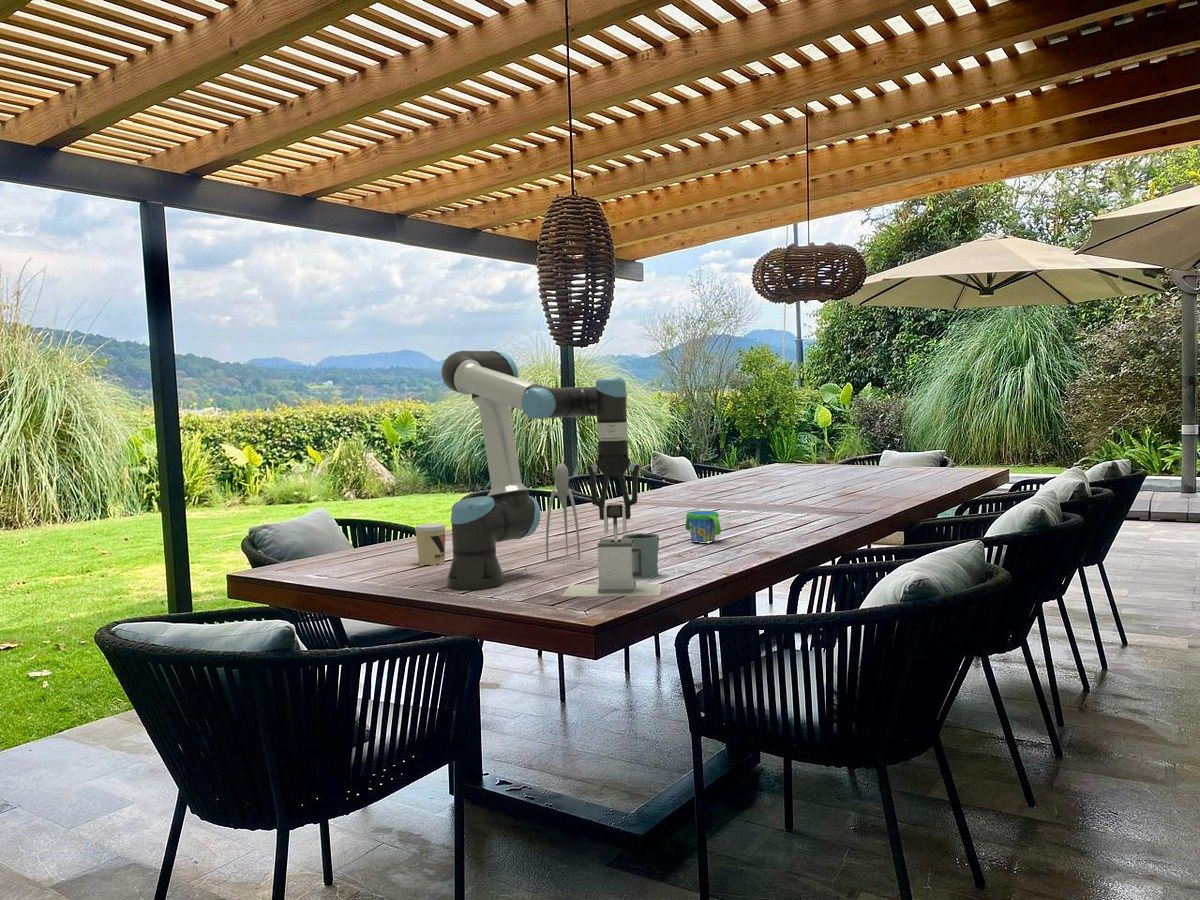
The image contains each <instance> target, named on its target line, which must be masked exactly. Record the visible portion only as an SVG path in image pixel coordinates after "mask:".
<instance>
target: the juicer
mask: <svg viewBox="0 0 1200 900" xmlns="http://www.w3.org/2000/svg"><path fill="white" fill-rule="evenodd" d="M568 469H569V468H568V467H567V466H566V464H564V463H563V462H561V463H559V464H558V465H557V466H556V467H555V470H554V479H555V482H554V483H555V487H556V488H555V489H556V490H555V489H552V490H551V494H550V498H549V503H548V508H547V517H546V529H545V531H546V533H545V549H546V551H545V552H546V553H545V554H546V556H545V557H546V562H549V533H550V520H551V513H552V506H553V504H554V503H553V502H554V499H555V496H557V497H558V500H559V503H560V505H561V507H562V509H563V519H564V520H563V521H564V533H565V534H564V535H565V549H566V551H565V552H566V556H567V555H568V553H569V552H568V548H569V547H568V509H567V508H568V506H567V496H568V497H569V500H570V504H571V507H572V513H573V516H574V517H573V518H574V525H575V533H576V542H577V554H578V556H577V557H578V559H577V560H578V561H579V560H580V561H581V551H580V550H581V549H580V547H581V546H580V531H579V522H578V515H577V508H576V504H575V499H574V496H573V492H572V489H571V488H569V470H568ZM568 556H569V555H568Z"/></svg>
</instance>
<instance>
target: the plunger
mask: <svg viewBox="0 0 1200 900" xmlns="http://www.w3.org/2000/svg"><path fill="white" fill-rule="evenodd" d="M606 506H607V518H608V519H613V520H612V521H613V523H612V525H613V527H612V528H613V539H614V542H618V539H619V537H618V532H619V531H618V519H619V518H621V519H622V507H623V506H624V505H623V504H622V503H621V504H620V503H618V504H617V503H615V504H614V503H613V504H612V503H611V504H606Z"/></svg>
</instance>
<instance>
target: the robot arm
mask: <svg viewBox="0 0 1200 900" xmlns="http://www.w3.org/2000/svg"><path fill="white" fill-rule="evenodd" d="M441 378H442V381H443V383H444V385H445V386H446V387H447V388H448V389H449V390H451V391H453V392H456V393H459V394H461V395H467V396H468V395H471V400H472V402H473V403H474V404H476V405H477V406H478V409H479V410H478V411H479V417H480V421H481V422H480V423H481V429H482V436H483V441H484V448H485V453H486V455H485V456H486V461H487V467H488V473H489V478H490V479H489V480H490V486H491V490H490V491H489V492H488V494H487V495H483V496H475V497H469V498H468V497H467V498H465V499H460V500H458V501H456V502H455V503H454V504H453V505H452V506H451V512H450V513H451V516H450V522H451V535H452V536H451V537H452V538H451V540H452V541H451V542H452V560H451V564H450V567H449V571H448V575H447V587H448V588H450V589H453V588H454V590H465V591H466V590H482V589H483V590H485V589H489V588H495V587H499V586H501V585H503V584H504V573H503V570H502V568H501V565H500V562H499V560H498V557H497V546H496V543H500V542H506V541H513V540H521V539H523V538H526V537H529V536H531V535H533V534H534V533H535V532H536V530H537V528H538V527H539V525H540V522H541V514H542V513H541V508H540V504H539V503H538V501H537V500H536V499H535V498H534V497H533V496H530V493H529V489H528V487H526V486H525V485H524V484H523V483H522V477H521V472H520V465H519V464H520V463H519V459H518V452H517V451H518V450H517V447H516V441H515V439H516V438H515V433H514V427H513V420H512V415H511V408H510V407H512V408H514V409H516V410H517V409H518V410H520V411H522V412H523V413H524V414H525V416H526V417H528V418H530V419H538V420H546V419H557V418H558V419H559V418H579V417H596V423H597V424H596V428H597V429H596V432H597V439H598V442H597V456H598V457H597V460H596V462H595V463H593V464H592V465H591V464H590V465H588V466H587V467H586V471H587V472H588V474H589V481H590V482H589V483H590V495H591V496H590V498H591V504H592V505H593V506H596V507H598V511H599V512H598V514H599V520H601V521H602V520H603V530H604V531H603V532H604V534H608V533H609V518H607V505H606V506H605V504H606V497H607V492H608V485H609V481H610V478H611V477H615V478H618V481H619V485H620V486H619V487H620V490H621V494H622V495H621V496H622V499H623V503H624V505H623V507H622V517H621V519H622V534H626V533H628V532H627V531H628V530H627V524H628V523H627V520H630V519H631V507H632V506H633V505H636V504H637V503H638V487H639V486H638V482H639V481H638V478H639V477H638V476H639V475H638V473H639V471H640V469H641V465H640V464H639V463H637V464H636V463H634V462H631V459H630V457H629V443H628V442H629V441H628V440H627V439H626V438H628V419H627V415H628V413H627V407H628V406H627V401H628V400H627V399H628V397H627V396H628V393H627V387H626V380H625V378H623V377H603V378H598V379H596V381H595V386H582V387H581V386H580V387H579V386H573V387H571V386H570V387H569V386H568V387H549V386H545V385H543V384H538V383H535V382H533V381H532V382H531V381H529V380H527V379H526V380H525V379H523V378H520V377H519V371H518V366H517V364H516V362H515V361H514V359H513V358H512V357H511V356H510V355H509V354H508V353H505V352H503V351H498V350H497V351H496V350H459V351H455V352H453V353H451V354H449V356H447V358H446V359H445V360H444V361H443V363H442V367H441ZM628 468H629V469H630V472H632V473H631V474H632V475H631V485H632V486H631V499H630V496H629V492H628V488H627V487H628V486H627V483H626V479H625V473H626V470H627V469H628ZM598 469H599V470H600V472H601V473H602V474H603V478H602V485H601V491H600V496H599V500H598V491H597V477H596V476H597V475H596V472H597V471H598Z"/></svg>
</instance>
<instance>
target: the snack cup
mask: <svg viewBox="0 0 1200 900" xmlns="http://www.w3.org/2000/svg"><path fill="white" fill-rule="evenodd" d="M719 515H720V514H719V512H717V511H712V510H695V511H688V512H686V516H685V517H686V519H685V520H686V521H685V530H686V531H689V532H690V537H691V542H692V541H698V542H707V541H713V540H714V541H715V537H716V536H719V535H720V534H721V533H722V532H721V530H722V529H721V528H722V527H721V524H720V520H719Z"/></svg>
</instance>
